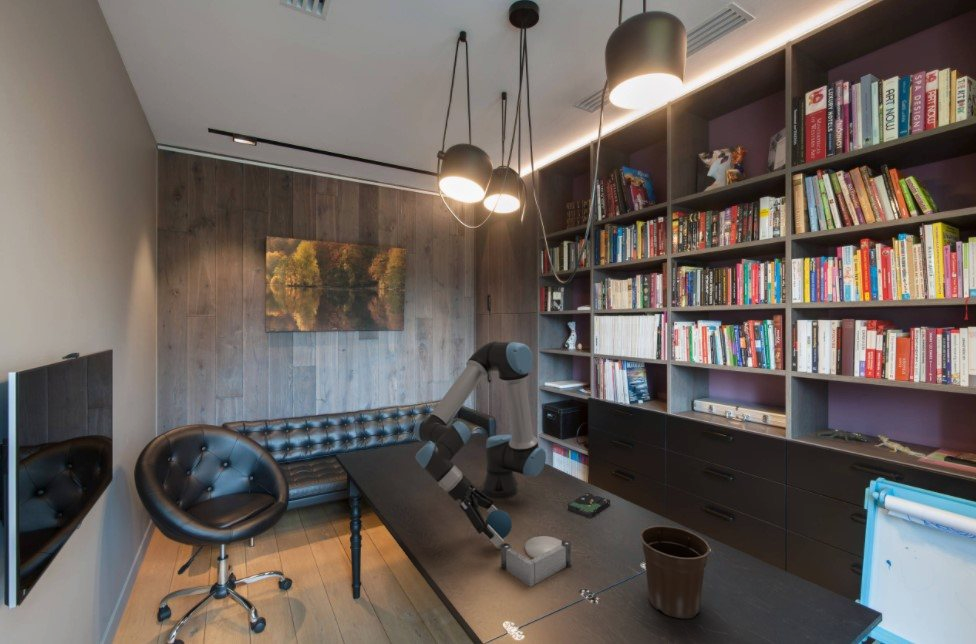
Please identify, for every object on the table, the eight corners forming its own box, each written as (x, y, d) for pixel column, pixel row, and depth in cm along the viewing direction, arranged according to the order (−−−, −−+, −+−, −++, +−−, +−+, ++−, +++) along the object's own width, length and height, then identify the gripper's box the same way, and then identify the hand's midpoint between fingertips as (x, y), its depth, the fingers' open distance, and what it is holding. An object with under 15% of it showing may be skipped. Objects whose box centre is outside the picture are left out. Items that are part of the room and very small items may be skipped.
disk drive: (586, 499, 172) (567, 511, 161) (586, 492, 172) (567, 503, 161) (610, 506, 165) (591, 519, 154) (610, 499, 165) (591, 511, 154)
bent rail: (541, 546, 135) (541, 526, 135) (573, 564, 125) (573, 543, 125) (498, 567, 124) (498, 545, 124) (530, 588, 114) (530, 565, 114)
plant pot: (689, 582, 117) (689, 524, 116) (723, 625, 100) (723, 557, 100) (631, 584, 116) (630, 525, 116) (656, 627, 100) (656, 559, 100)
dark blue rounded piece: (489, 558, 129) (489, 518, 129) (482, 543, 137) (482, 507, 137) (515, 553, 131) (515, 515, 131) (507, 540, 139) (507, 503, 139)
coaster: (544, 535, 142) (544, 532, 142) (575, 551, 132) (575, 548, 132) (516, 548, 134) (516, 545, 134) (546, 566, 124) (546, 563, 124)
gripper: (454, 476, 148) (497, 521, 146) (438, 508, 123) (489, 563, 121) (469, 462, 147) (512, 507, 146) (456, 491, 122) (508, 545, 121)
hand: (502, 532), depth 134 cm, fingers open, 13 cm apart
